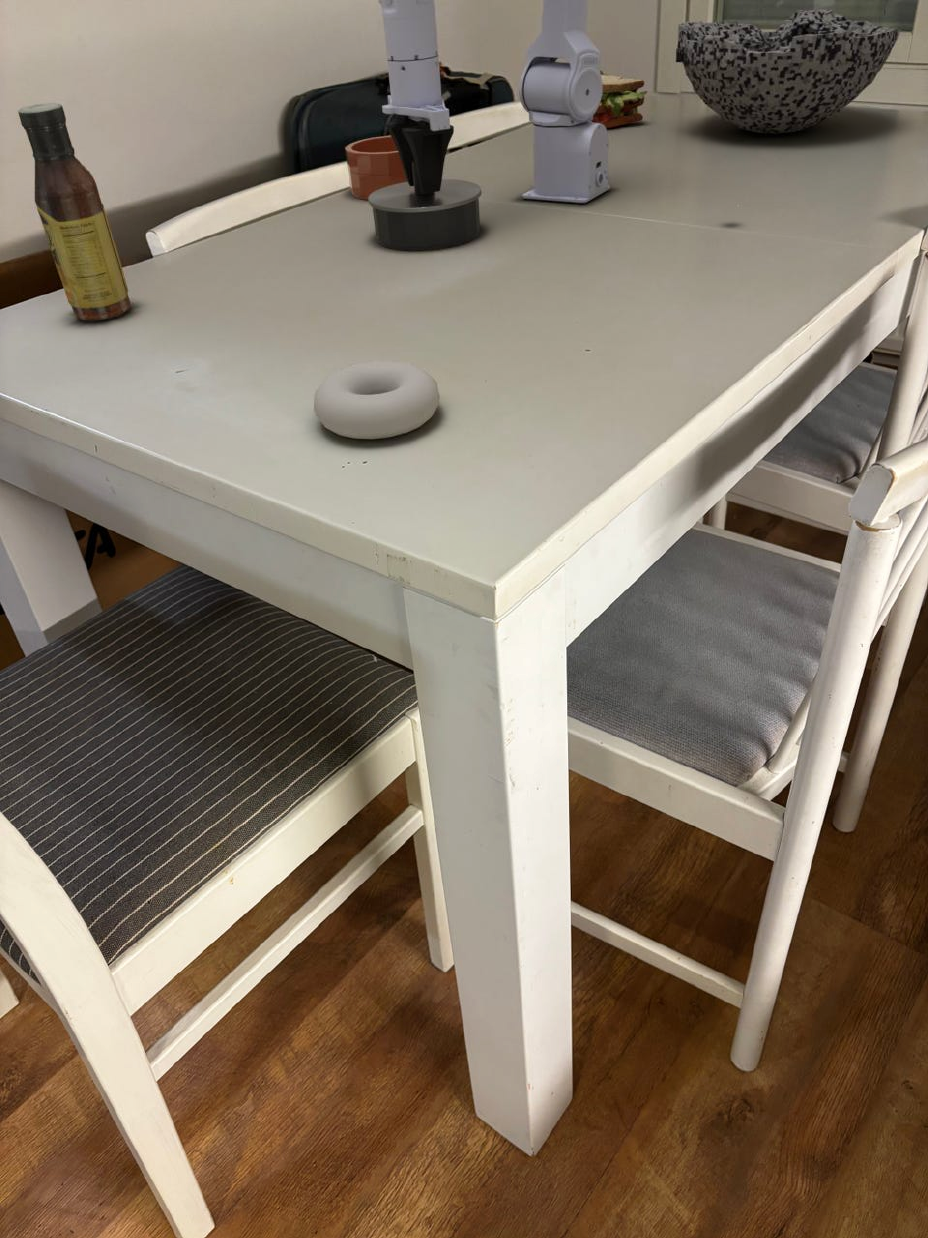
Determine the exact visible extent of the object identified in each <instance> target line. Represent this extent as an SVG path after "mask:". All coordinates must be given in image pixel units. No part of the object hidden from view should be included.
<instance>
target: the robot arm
mask: <svg viewBox="0 0 928 1238" xmlns="http://www.w3.org/2000/svg"><path fill="white" fill-rule="evenodd" d="M542 1H543V2H542V14H541V15H542V16H541V27H540V28H541V29H540V33H539V34H538V35H537V37H536V38H535V39H533V41H532V42H531V44H530V45H529V47H528V48H527V49H526V55H525V64H524V68H523V71H522V73H521V76H520V79H519V83H518V96H519V100H520V104H521V107H522V108H523V110H525V112H527V113H528V121H529V122H532V144H533V148H532V149H533V187H534V188H532V189H530V190H528V191H527V192H525V193H523V194H521V198H522V199H525V200H535V201H536V200H537V201H552V202H560V203H561V202H562V203H563V202H564V203H575V204H576V203H577V204H586V203H589V202H590V201H592V200H593V199H596V198H597V197H599V196H600V195H602V194H604V193H605V192H607V191H609V190H610V189H611V185H610V184H609V147H610V146H609V143H610V142H609V133H608V128H606V127H605V126H604V125H603V124H600V123H593V122H591V120H593V115H594V113H595V112H596V110H597V109H598V107H599V104H600V101H601V98H602V91H603V84H602V78H601V73H600V70H601V57H602V54H601V52H600V50H599V48H598V47H597V46H596V45H595V43H593V42H592V40H591V39H590V38H589V37H588V35H587V33H586V30H587V22H588V21H587V20H588V9H589V0H542ZM378 4H380V7H381V12H382V22H383V31H384V41H385V50H386V51H385V52H386V60H387V72H388V81H389V91H390V94H389V95H387V104H384V105H381V110H382V113H383V114H385V115H397V117H396V120H392V121H387V122H385V124H384V125H385V129H386V131H387V133H388V134H389V136H391V137H392V139H393V141H394V143H395V145H396V147H397V150H398V152H399V155H400V158H401V162H402V165H403V168H404V172H405V175H406V178H407V181H408V184H409V186H414V180H413V169H412V161H413V160H414V161H415V165H416V170H417V175H418V180H419V184H420V188H421V190H422V193H424V194H427V193H432V192H438V191H440V188H441V182H442V179H443V174H444V165H445V161H446V160H445V159H446V156H447V151H448V147H449V146H450V143H451V140H452V137H453V136H454V132H455V126H454V125H451V121H450V109H449V108H447V107H446V105H445V101H444V99H443V98H442V87H441V85H442V84H441V74H440V59H439V58H440V57H439V47H438V46H439V45H438V29H437V19H436V3H435V0H378ZM559 59H564V60H567V62H563V61H557V60H559Z"/></svg>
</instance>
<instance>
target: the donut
mask: <svg viewBox="0 0 928 1238" xmlns="http://www.w3.org/2000/svg"><path fill="white" fill-rule="evenodd" d="M439 404H440V391H439V387H438V383H437V381H436V380H435V378H434V377H433V376H432V375H431V374H430V373H429V372H428V371H427V370H426V369H424V368H423V367H421V366H418V365H415V364H413V363H408V362H405V361H397V360H375V361H365V362H360V363H357V364H352V365H349V366H347V367H344V368H341V369H339V370H336V371H335V372H333V373H331V374H329V376H327V377H325V379H323V381H322V382H321V383H320V384H319V385H318V386H317V388H316V390H315V393H314V396H313V411H314V414H315V416H316V417H317V419H318V420H319V421H320V423H321V424H322V425H323V426H324V428H326V429H327V430H328V431H330V432H332V433H335V434H336V435H338V436H341V437H345V438H350V439H355V440H356V439H357V440H378V439H388V438H393V437H396V436H400V435H404V434H407V433H409V432H411V431H414V430H416V429H418V428H420V427H422V426H423V425H424V424H425V423H427V421H429V420H430V419H431V418H432V417H433V415H434V414H435V412H436V411H437V408H438V406H439Z"/></svg>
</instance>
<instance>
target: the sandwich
mask: <svg viewBox="0 0 928 1238" xmlns="http://www.w3.org/2000/svg"><path fill="white" fill-rule="evenodd" d="M600 73H601V78H602V84H603V91H602V98H601V101H600V104H599V107H598V109H597V110H596V112H595V113H594V115H593V120H591V122H593V123H600V124H603V125H604V126H605V127H606V129H608V128H609V129H610V128H614V127H619V126H623V125H628V124H632V123H638V122H641V121H642V120H643V118H644V117H643V115H642V114H641V113H640V112H638V107H641V106H642V105H643V104H644V102H645V96H646V95H647V94H648V90H645V91H641V92H638V90H639V89H642V88H643V87H644V86H645V80H643V79H633V78H623V76H622V75H621V76H616V75H611V74H607V73H606V72H603V70H602V69H600Z"/></svg>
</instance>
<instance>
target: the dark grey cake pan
mask: <svg viewBox="0 0 928 1238" xmlns="http://www.w3.org/2000/svg"><path fill="white" fill-rule="evenodd" d="M479 198H480V197H479ZM479 198H478V199H476V200H474V201H472V202H470V203H468V204H465V205H462V206H458V207H454V208H449V209H444V210H437V211H429V212H412V213H404V212H389V211H383V210H379V209H376V208H374V207H372V213H373V214H372V215H373V221H374V222H373V223H374V229H375V236H376V239H377V243H378V244H380V245H381V246H383V247H384V248H388V249H393V250H397V251H411V252H412V251H413V252H414V251H415V252H416V251H417V252H418V251H419V252H420V251H433V250H441V249H447V248H452V247H456V246H460V245H463V244H465V243H468V242H470V241H472V240H474V239H476V238H477V237H478V236H479V234H480V228H481V216H480V200H479Z"/></svg>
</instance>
